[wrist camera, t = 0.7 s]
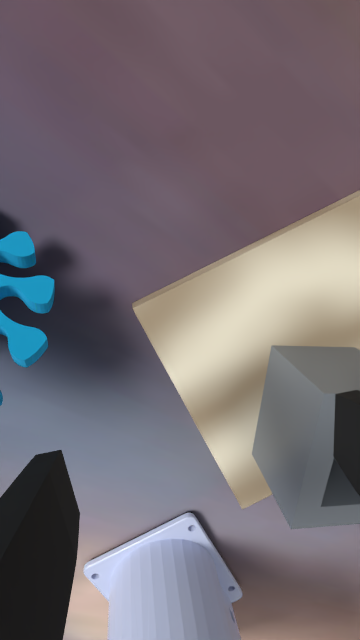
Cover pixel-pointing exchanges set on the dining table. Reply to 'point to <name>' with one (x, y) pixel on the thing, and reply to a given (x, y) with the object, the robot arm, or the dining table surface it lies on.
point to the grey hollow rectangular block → (306, 434)
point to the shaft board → (255, 327)
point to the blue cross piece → (24, 299)
